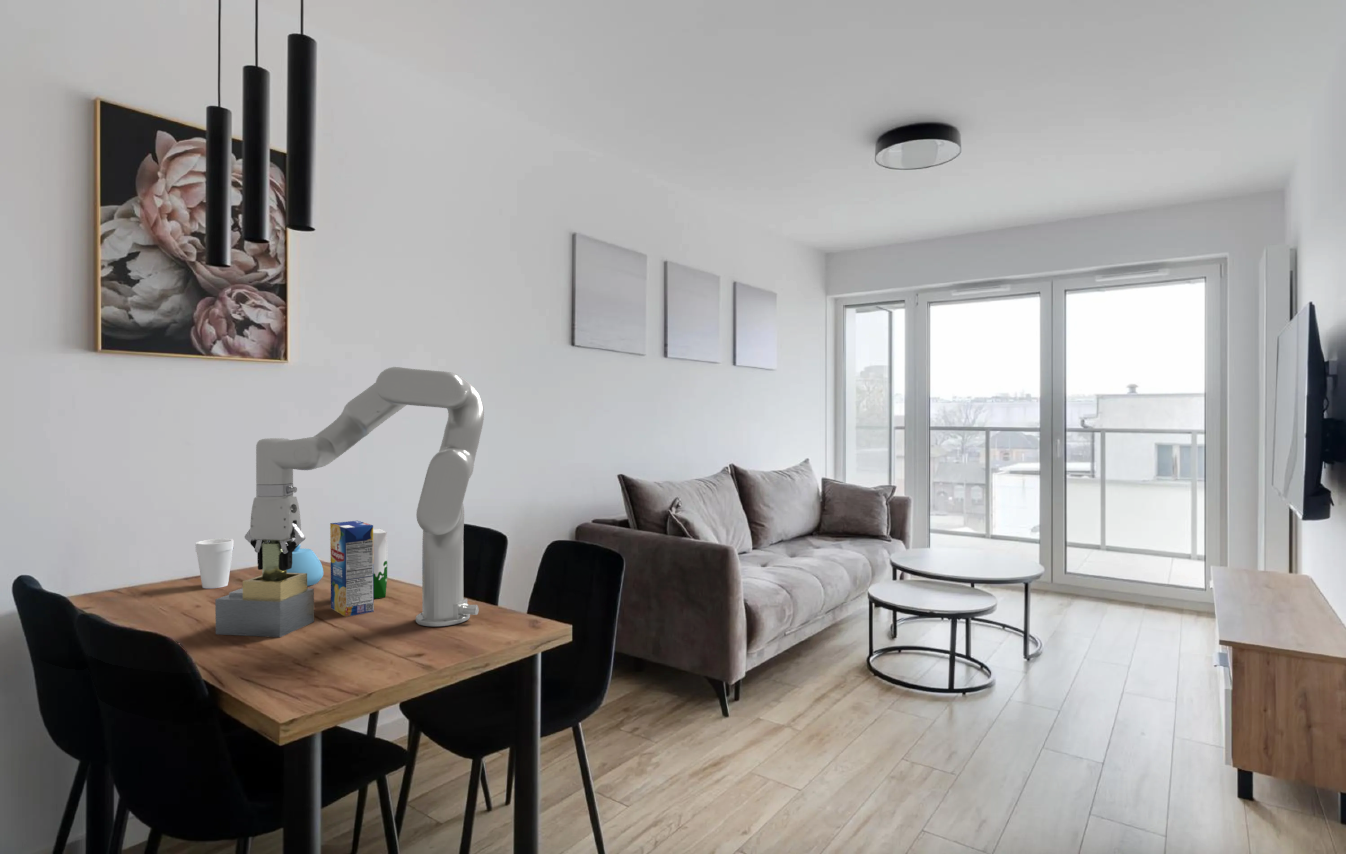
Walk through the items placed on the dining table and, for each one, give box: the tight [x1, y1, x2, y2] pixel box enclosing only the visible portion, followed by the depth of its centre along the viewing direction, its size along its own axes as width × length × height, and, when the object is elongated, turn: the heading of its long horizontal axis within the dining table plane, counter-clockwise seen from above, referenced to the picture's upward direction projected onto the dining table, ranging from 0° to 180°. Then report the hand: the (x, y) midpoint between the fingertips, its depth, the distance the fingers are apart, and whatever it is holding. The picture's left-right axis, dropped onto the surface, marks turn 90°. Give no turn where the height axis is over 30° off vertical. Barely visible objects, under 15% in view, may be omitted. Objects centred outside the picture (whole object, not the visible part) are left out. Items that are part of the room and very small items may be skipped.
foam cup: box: [195, 538, 235, 589], centre depth 207 cm, size 10×9×13 cm
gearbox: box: [214, 573, 315, 638], centre depth 166 cm, size 16×12×12 cm
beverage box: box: [329, 520, 375, 618], centre depth 182 cm, size 7×11×22 cm, turn 43°
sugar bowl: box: [287, 543, 324, 587], centre depth 210 cm, size 15×15×12 cm
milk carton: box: [373, 528, 388, 600], centre depth 195 cm, size 9×9×20 cm
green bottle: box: [261, 540, 287, 581], centre depth 166 cm, size 5×5×10 cm
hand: (274, 568), depth 166 cm, fingers closed on green bottle, 5 cm apart
